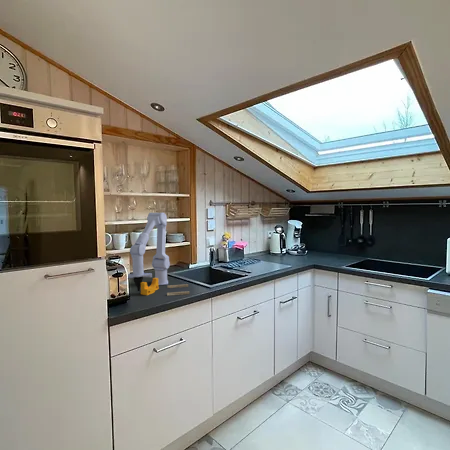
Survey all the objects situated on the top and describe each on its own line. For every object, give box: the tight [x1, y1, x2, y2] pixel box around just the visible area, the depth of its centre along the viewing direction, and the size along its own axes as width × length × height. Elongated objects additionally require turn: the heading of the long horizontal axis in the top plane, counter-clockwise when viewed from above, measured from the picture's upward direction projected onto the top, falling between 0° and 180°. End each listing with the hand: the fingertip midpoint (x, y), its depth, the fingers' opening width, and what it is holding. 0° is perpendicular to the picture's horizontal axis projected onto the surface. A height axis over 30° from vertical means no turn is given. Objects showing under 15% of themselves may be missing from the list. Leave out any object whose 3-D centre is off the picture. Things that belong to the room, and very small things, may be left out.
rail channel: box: [166, 283, 190, 296], centre depth 171 cm, size 16×12×1 cm
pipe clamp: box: [140, 277, 160, 296], centre depth 169 cm, size 12×4×6 cm, turn 155°
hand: (138, 290), depth 167 cm, fingers closed
